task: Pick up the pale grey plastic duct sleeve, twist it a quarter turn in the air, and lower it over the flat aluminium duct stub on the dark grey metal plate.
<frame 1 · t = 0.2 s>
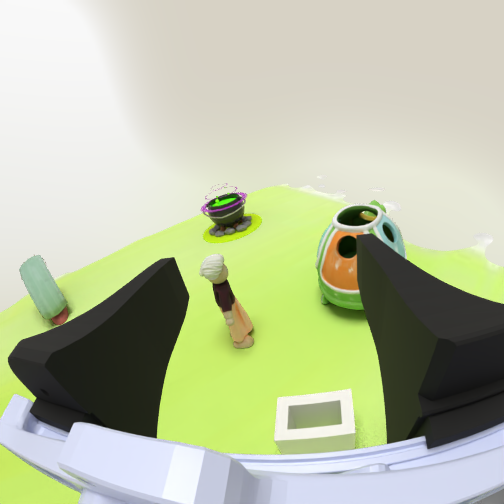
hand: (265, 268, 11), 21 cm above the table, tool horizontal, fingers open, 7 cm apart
duct sleeve: (319, 437, 24), on the table
toy cauldron: (232, 228, 73), on the table
toy snail: (55, 306, 63), on the table
grandmother figurine: (241, 335, 40), on the table
turtle holder: (365, 285, 42), on the table
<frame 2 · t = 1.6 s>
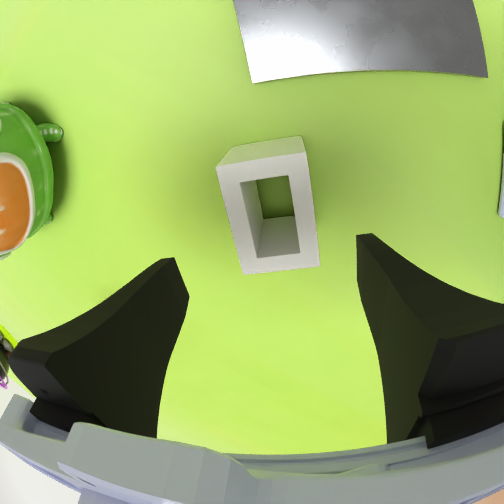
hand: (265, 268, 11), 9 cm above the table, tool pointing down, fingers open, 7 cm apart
duct sleeve: (275, 187, 19), on the table
toy cauldron: (3, 340, 39), on the table
turtle holder: (14, 161, 20), on the table
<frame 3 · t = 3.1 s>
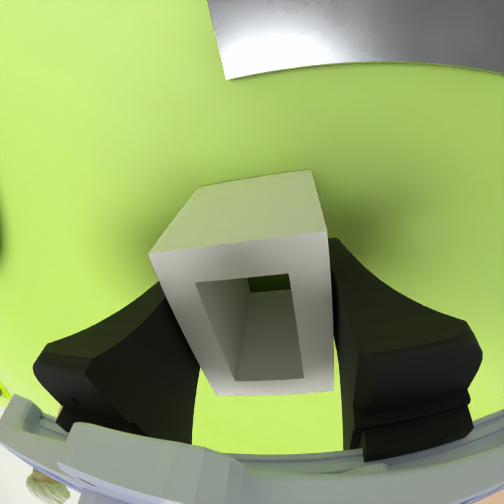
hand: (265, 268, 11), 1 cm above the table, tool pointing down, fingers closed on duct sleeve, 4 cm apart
duct sleeve: (267, 249, 13), on the table, touching gripper
grandmother figurine: (97, 373, 21), on the table
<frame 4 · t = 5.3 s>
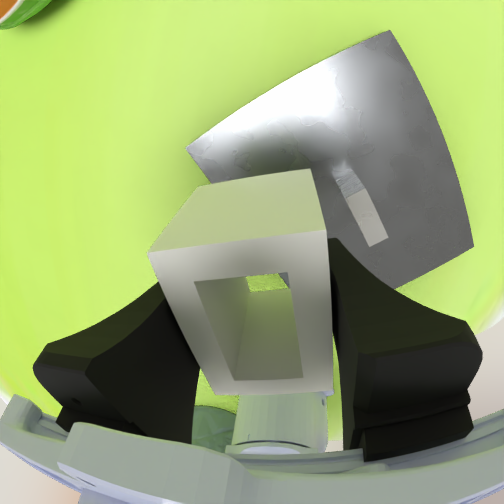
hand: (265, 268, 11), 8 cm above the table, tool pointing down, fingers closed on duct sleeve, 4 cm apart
duct sleeve: (267, 249, 13), point 7 cm above the table, touching gripper
duct plate: (353, 192, 18), on the table
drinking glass: (212, 419, 36), on the table
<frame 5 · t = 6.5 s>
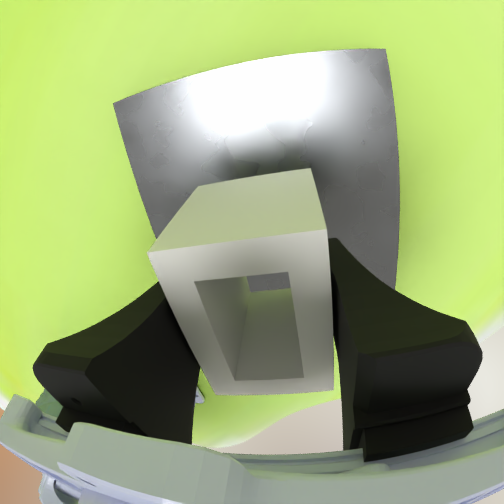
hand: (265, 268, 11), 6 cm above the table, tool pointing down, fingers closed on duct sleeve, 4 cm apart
duct sleeve: (267, 248, 13), point 5 cm above the table, touching gripper
duct plate: (272, 207, 17), on the table
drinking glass: (85, 385, 32), on the table
when the fingers open (3 cm above the table, at t = 7.5 s): duct sleeve stays where it is, resting on duct plate.
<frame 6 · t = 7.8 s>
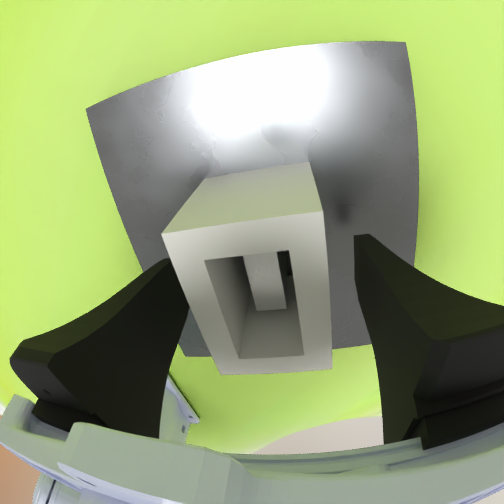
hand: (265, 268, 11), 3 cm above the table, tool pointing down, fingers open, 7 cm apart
duct sleeve: (269, 237, 14), point 1 cm above the table, touching duct plate
duct plate: (270, 228, 14), on the table
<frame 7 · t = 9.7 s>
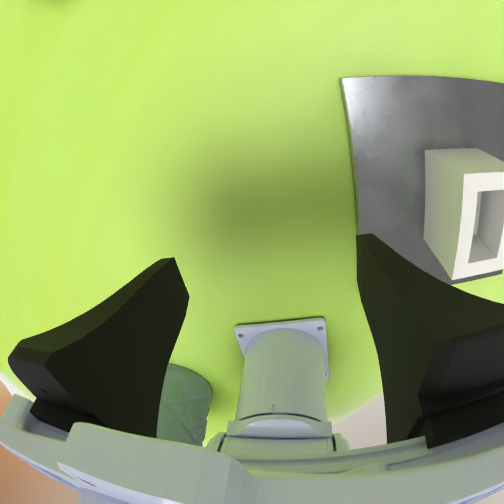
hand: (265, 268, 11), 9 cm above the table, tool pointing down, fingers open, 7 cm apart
duct sleeve: (451, 193, 17), point 1 cm above the table, touching duct plate
duct plate: (445, 189, 18), on the table
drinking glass: (176, 382, 33), on the table
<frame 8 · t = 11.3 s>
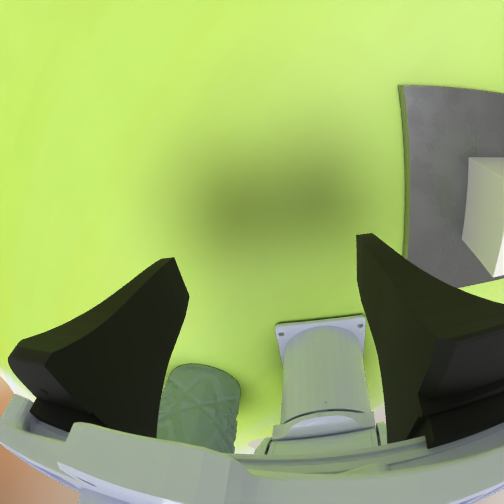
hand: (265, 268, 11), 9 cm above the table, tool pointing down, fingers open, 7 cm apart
duct sleeve: (487, 198, 16), point 1 cm above the table, touching duct plate
duct plate: (481, 194, 17), on the table
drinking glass: (203, 383, 33), on the table
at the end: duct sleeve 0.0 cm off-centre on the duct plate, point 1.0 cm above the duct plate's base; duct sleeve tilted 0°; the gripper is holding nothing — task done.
